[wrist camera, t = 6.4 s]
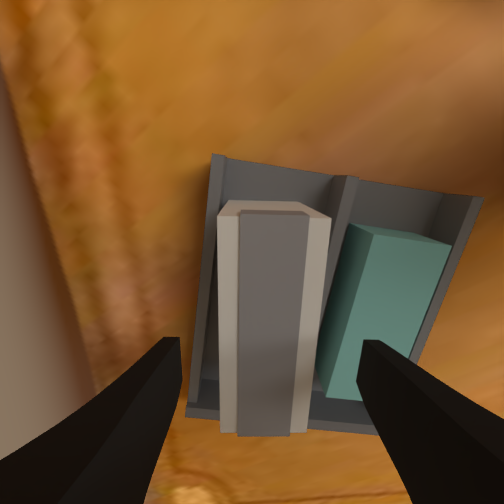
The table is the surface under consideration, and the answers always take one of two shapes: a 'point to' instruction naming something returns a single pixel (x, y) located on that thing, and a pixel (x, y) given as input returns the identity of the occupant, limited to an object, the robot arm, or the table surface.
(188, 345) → the table surface
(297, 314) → the grey striped bar
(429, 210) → the grey divided tray
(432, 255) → the teal rectangular prism
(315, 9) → the table surface
